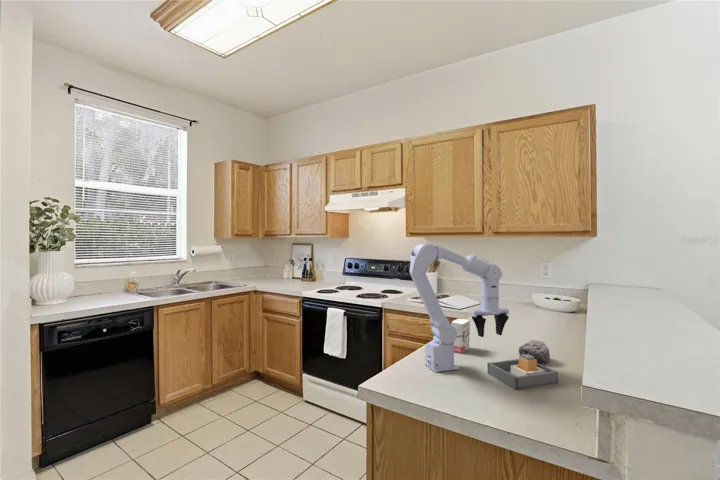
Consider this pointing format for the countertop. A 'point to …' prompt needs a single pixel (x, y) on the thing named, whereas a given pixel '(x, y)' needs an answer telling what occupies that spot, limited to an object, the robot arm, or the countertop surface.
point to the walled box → (521, 374)
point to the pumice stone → (536, 351)
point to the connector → (527, 363)
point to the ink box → (461, 335)
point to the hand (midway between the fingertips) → (490, 335)
